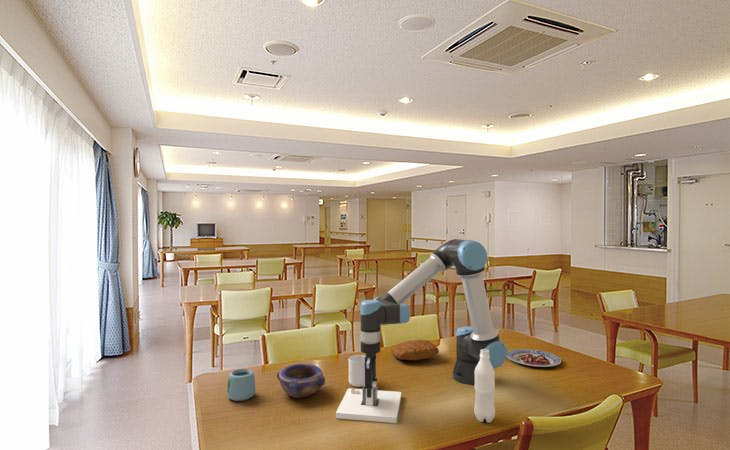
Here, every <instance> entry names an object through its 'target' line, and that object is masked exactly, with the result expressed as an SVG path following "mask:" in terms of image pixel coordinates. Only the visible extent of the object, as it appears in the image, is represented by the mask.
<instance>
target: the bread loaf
mask: <svg viewBox="0 0 730 450" xmlns="http://www.w3.org/2000/svg"><path fill="white" fill-rule="evenodd" d="M439 351H440V350H439V348H438V347H437V345H435V344H434V343H433V342H431V341H429V340H427V339H417V340H416V339H415V340H407V341H403V342H400V343H396V344H394V345H392V346H391V347H390V352H391V354H392V355H393V357H395V358H397V359H399V360H401V361H402V360H405V361H406V360H407V361H421V360H425V359H429V358H433V357H434V356H437V355H438V354H439Z"/></svg>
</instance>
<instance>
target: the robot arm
mask: <svg viewBox="0 0 730 450" xmlns="http://www.w3.org/2000/svg"><path fill="white" fill-rule="evenodd" d="M487 262H488V252H487V249H486V247H485V246H484V245H483V244H482V243H480V242H479V241H476V240H472V239H458V238H454V239H450V240H448V241H446V242H445V243H442V245H440V246H438V248H436V249H434V251H432V252H431V253H430V254H429V258H428V259H427V260H425V261H423V263H422V264H421V265H419V266H418V267H417V268H415V269H414V270H413V271H412V272H411V273H409V274H408V275H406V277H404V278H402V280H401V281H399V282H398V283H397V284H396V285H394V287H392V288H391V289H389V290H388V292H386V293H385V294H384V295H382V296H377V297H375V298H374V299H365V300H362V301H361V303H360V311H359V312H360V313H359V314H360V315H359V316H360V332H358V334H359V335H360V352H361V353H362V354H365V356H366V357H365V363H364V365H365V387H364V388H365V389H366V405H370V406H373V387H372V384H373V382H377V381H378V378H376V377H377V367H376V366H377V362H376V361H377V354H379V353H380V352H381V342H380V341H381V326H384V325H385V326H386V325H388V326H389V325H397V324H398V325H401V324H405V323H408V322H410V319H411V310H410V306H409V305H408V304H407V303H405V302H406V300H408V299H410V298H411V296H413V295H415V293H416V292H417V291H419V290H420V289H421V288H423V286H425V285H426V284H428V282H430V281H431V280H432V279H433V278H434V277H436V276H437V275H438V274H440V272H441V273H442V272H446V271H447V270H448V269H451V268H452V267H454V268H455V273H456V275H457V276H458V277H459V278H461V283H462V287H463V292H464V296H465V301H466V302H465V303H466V305H467V306H466V307H467V310H468V315H469V319H470V324H471V326H462V327H458V328H457V329H456V334H455V336H456V337H455V338H456V345H455V346H456V350H455V351H456V360H455V363H454V366H453V369H452V379H453V380H455V381H456V382H459V383H461V384H466V385H475V374H474V372H475V368H476V366H477V364H478V363H479V361H480V354H481V353H480V350H481V349H487V350H489V355H490V358H489V360H490V363H491V365H492V367H493V369H497V368H499V367H501V366H502V365H503V364H504V363H505V361H506V360H507V358H508V357H507V353H508V348H507V345H506V344H505V343H504V342H502V341H501V340H500V334H499V331H498V330H497V329H496V328H494V325H493V319H492V316H491V310H490V305H489V301H488V296H487V291H486V287H485V282H484V278H483V274H484V272H485V271H486V268H485V266H486V264H487Z"/></svg>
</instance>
